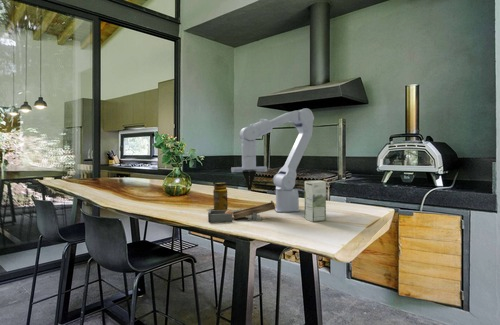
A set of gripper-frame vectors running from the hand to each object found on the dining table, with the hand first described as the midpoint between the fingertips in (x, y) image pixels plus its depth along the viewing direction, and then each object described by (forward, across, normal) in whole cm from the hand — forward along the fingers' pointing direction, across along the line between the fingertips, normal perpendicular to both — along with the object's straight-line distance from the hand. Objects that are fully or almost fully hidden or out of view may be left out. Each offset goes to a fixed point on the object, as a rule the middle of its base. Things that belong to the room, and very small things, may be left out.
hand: (249, 189), depth 129 cm
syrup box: (+10, -23, +15) cm, 29 cm away
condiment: (+10, +13, -9) cm, 19 cm away
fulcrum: (+10, -1, +8) cm, 13 cm away
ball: (+8, +9, +8) cm, 14 cm away
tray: (+10, +12, +8) cm, 18 cm away
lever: (+8, -1, +5) cm, 9 cm away
